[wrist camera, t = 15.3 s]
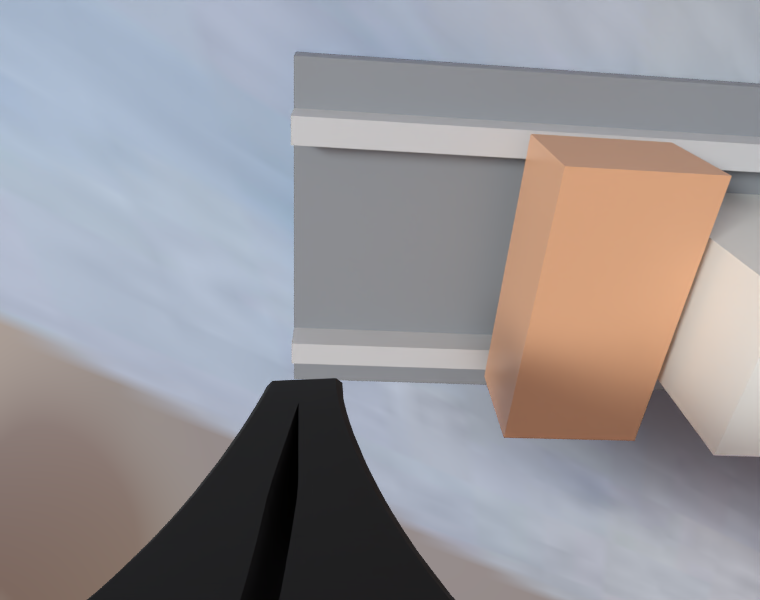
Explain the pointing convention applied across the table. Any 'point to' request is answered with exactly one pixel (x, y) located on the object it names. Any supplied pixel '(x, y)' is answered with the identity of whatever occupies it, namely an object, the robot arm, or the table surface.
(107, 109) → the table surface
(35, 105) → the table surface
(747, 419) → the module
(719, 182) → the peach block
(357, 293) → the rail holder
